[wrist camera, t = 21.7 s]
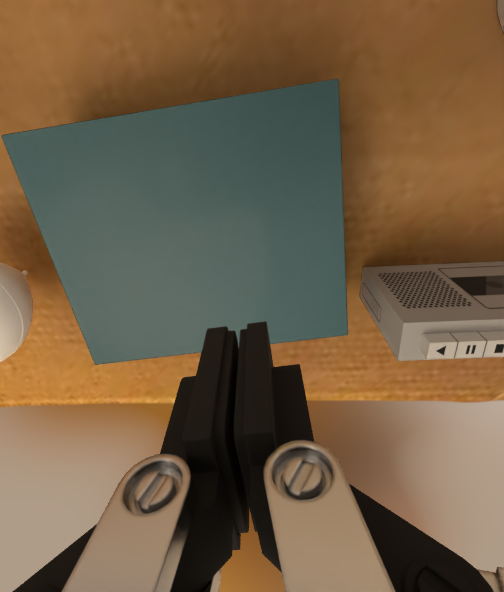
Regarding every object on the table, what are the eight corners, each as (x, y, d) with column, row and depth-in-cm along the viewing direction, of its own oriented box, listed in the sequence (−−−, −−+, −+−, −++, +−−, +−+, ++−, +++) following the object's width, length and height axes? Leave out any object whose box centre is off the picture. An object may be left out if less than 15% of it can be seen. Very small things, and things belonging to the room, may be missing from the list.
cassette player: (559, 258, 29) (697, 320, 20) (549, 289, 30) (675, 361, 21) (362, 267, 29) (410, 332, 20) (359, 297, 30) (403, 370, 21)
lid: (99, 358, 26) (94, 365, 26) (9, 134, 20) (0, 135, 19) (345, 329, 25) (348, 335, 24) (336, 79, 19) (339, 78, 18)
